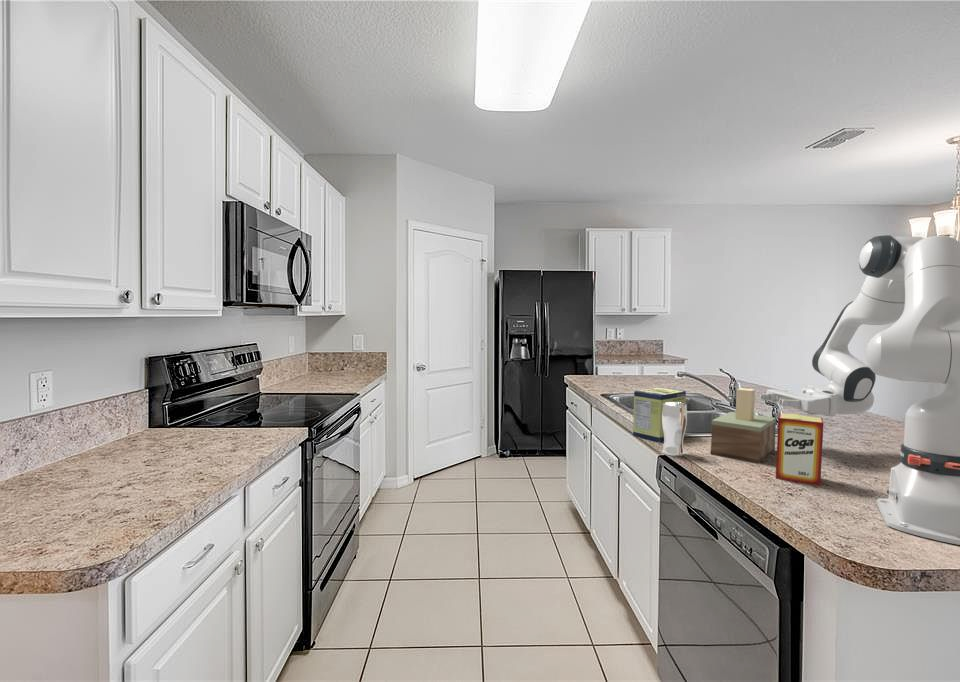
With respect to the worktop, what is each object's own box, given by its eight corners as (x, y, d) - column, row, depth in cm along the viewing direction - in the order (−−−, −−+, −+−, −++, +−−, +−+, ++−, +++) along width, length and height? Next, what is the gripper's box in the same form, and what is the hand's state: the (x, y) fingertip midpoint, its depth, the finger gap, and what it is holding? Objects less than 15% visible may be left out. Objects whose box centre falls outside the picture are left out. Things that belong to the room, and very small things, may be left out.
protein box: (685, 435, 172) (686, 390, 171) (659, 442, 163) (661, 395, 162) (657, 429, 181) (659, 386, 180) (632, 436, 171) (633, 390, 170)
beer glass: (670, 457, 146) (672, 406, 145) (655, 450, 153) (657, 402, 152) (690, 455, 148) (692, 405, 147) (675, 449, 155) (677, 401, 154)
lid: (760, 435, 141) (762, 395, 140) (711, 427, 149) (713, 390, 149) (775, 424, 154) (777, 388, 153) (730, 418, 163) (731, 384, 162)
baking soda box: (819, 478, 129) (822, 416, 128) (820, 485, 124) (823, 421, 123) (776, 471, 134) (779, 412, 133) (775, 478, 129) (778, 416, 128)
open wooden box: (759, 463, 141) (760, 431, 140) (710, 454, 150) (711, 424, 149) (774, 450, 154) (776, 421, 154) (729, 442, 163) (730, 415, 162)
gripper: (791, 384, 163) (750, 384, 162) (841, 395, 142) (794, 395, 141) (791, 404, 163) (749, 404, 162) (839, 417, 143) (793, 417, 142)
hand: (770, 400), depth 152 cm, fingers open, 8 cm apart
